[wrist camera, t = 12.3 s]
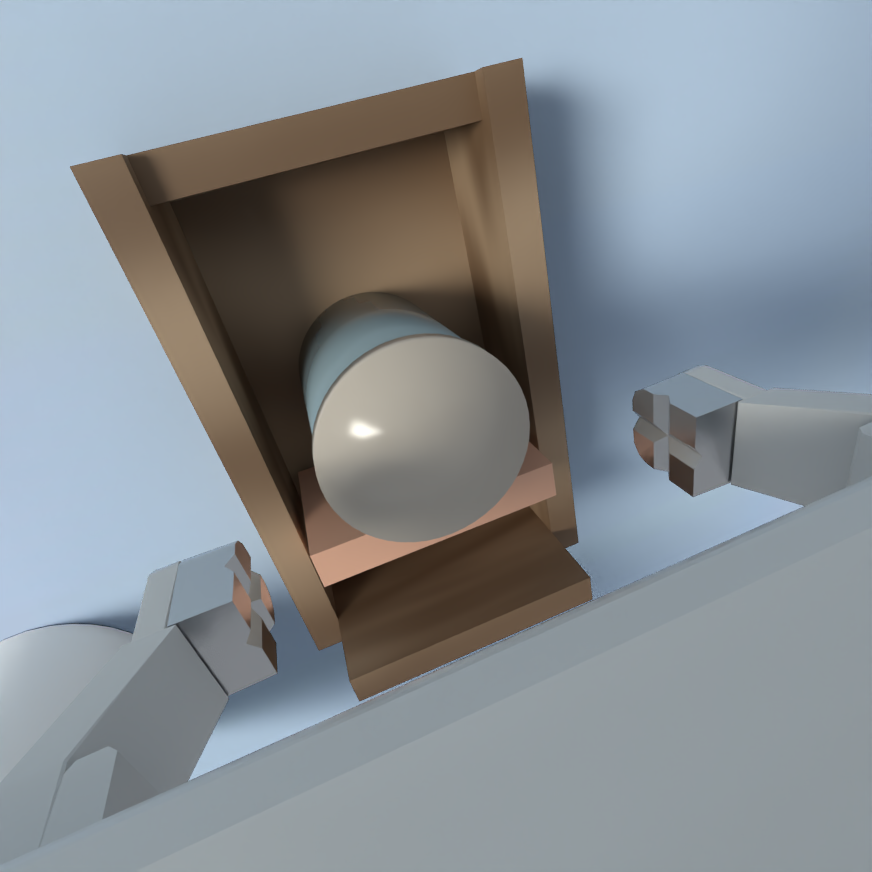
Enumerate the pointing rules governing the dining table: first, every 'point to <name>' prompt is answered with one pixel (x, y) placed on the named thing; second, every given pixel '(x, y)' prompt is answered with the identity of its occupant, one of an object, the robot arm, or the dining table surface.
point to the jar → (408, 419)
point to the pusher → (357, 552)
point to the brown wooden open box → (339, 278)
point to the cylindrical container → (47, 679)
